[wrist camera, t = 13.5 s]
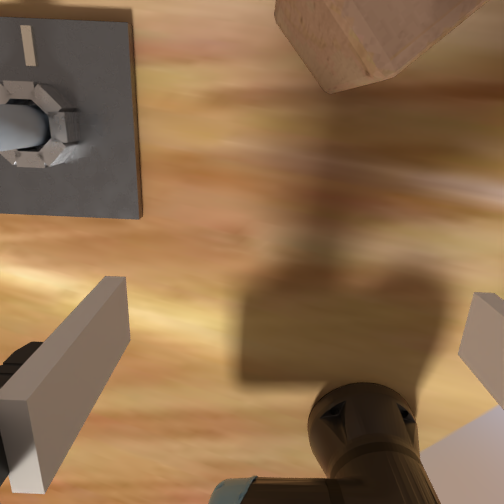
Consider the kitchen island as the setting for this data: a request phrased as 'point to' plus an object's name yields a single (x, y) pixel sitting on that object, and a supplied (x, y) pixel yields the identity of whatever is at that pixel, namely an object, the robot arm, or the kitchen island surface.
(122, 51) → the base plate
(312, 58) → the wooden block
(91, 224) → the kitchen island surface
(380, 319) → the kitchen island surface
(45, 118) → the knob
